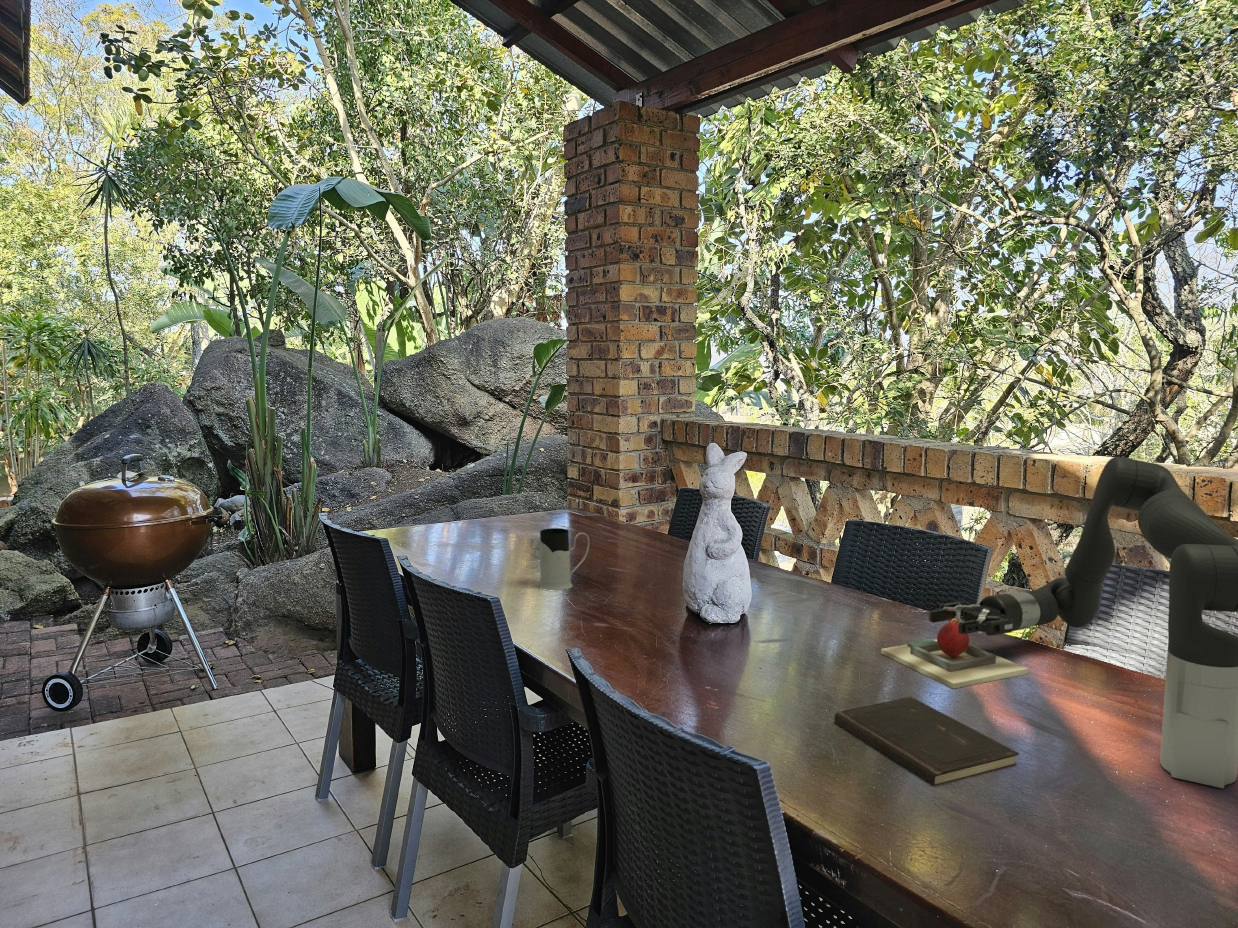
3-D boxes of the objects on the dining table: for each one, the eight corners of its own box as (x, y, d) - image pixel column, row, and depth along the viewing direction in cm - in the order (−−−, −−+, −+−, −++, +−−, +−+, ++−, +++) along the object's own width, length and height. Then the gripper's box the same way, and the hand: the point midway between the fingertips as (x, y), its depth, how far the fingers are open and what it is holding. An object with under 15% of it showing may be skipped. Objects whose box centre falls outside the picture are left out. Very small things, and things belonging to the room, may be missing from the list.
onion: (948, 665, 164) (949, 625, 163) (930, 654, 170) (931, 615, 168) (974, 660, 166) (976, 621, 164) (955, 650, 171) (956, 612, 170)
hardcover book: (910, 708, 148) (911, 696, 148) (1018, 767, 127) (1019, 752, 127) (833, 725, 142) (834, 712, 142) (933, 789, 121) (934, 774, 121)
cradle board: (1028, 673, 162) (1028, 660, 162) (953, 688, 155) (953, 675, 155) (950, 641, 180) (951, 629, 180) (881, 653, 174) (881, 641, 173)
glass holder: (534, 584, 229) (533, 529, 227) (583, 578, 235) (582, 524, 233) (545, 592, 221) (544, 535, 219) (596, 585, 227) (595, 530, 225)
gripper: (982, 585, 178) (919, 594, 172) (1039, 603, 165) (973, 614, 159) (981, 620, 179) (918, 630, 173) (1037, 640, 166) (971, 653, 160)
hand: (945, 622), depth 166 cm, fingers open, 7 cm apart
